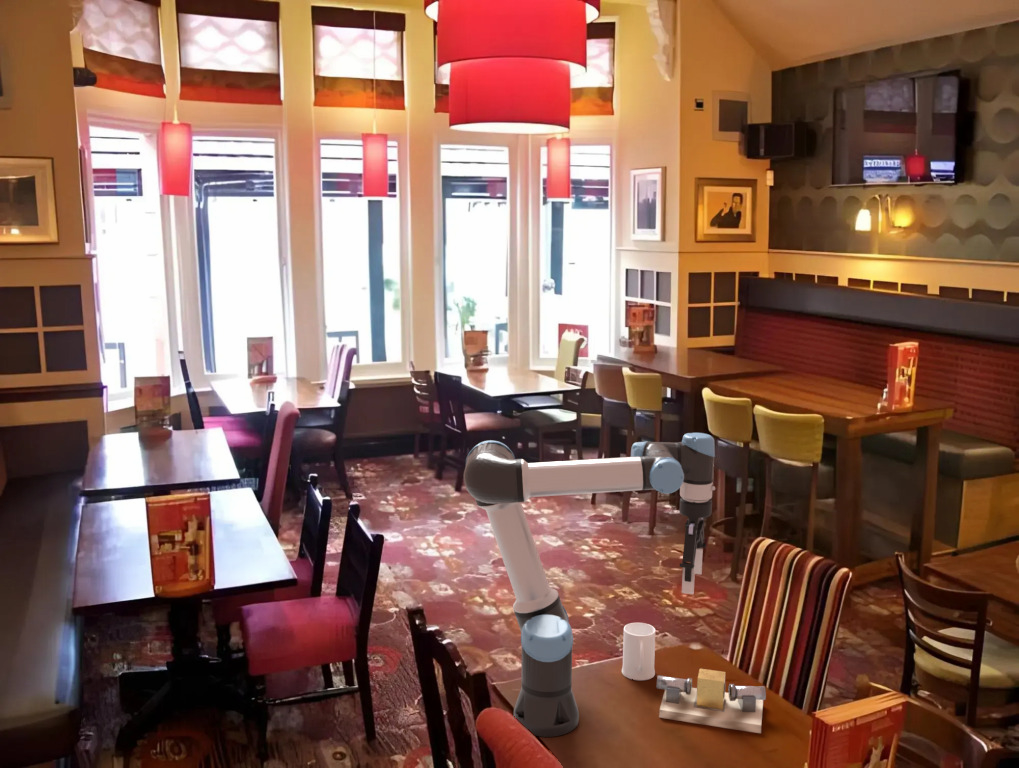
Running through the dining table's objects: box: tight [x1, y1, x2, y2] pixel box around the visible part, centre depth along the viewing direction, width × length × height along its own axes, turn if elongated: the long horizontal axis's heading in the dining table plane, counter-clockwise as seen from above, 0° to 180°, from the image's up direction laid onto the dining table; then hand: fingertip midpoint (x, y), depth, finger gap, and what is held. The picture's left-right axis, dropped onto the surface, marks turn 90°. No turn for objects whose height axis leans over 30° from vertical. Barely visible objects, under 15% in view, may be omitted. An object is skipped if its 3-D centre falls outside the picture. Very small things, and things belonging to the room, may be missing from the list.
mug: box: [621, 622, 656, 681], centre depth 235 cm, size 12×8×12 cm
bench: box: [658, 687, 764, 734], centre depth 218 cm, size 23×13×2 cm, turn 73°
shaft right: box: [727, 683, 767, 712], centre depth 217 cm, size 8×5×5 cm, turn 88°
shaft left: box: [656, 675, 693, 704], centre depth 220 cm, size 8×5×5 cm, turn 73°
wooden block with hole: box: [696, 668, 726, 710], centre depth 218 cm, size 6×5×7 cm
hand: (691, 583), depth 223 cm, fingers open, 13 cm apart
